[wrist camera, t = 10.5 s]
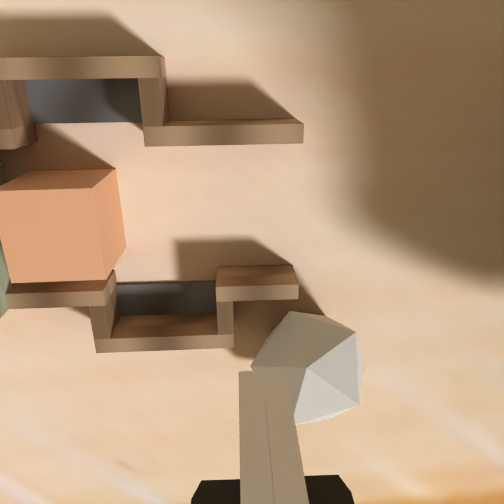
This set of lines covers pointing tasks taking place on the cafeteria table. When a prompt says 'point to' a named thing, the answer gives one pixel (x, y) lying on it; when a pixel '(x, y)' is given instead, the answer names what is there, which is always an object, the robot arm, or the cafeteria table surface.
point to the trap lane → (155, 134)
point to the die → (314, 364)
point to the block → (61, 225)
